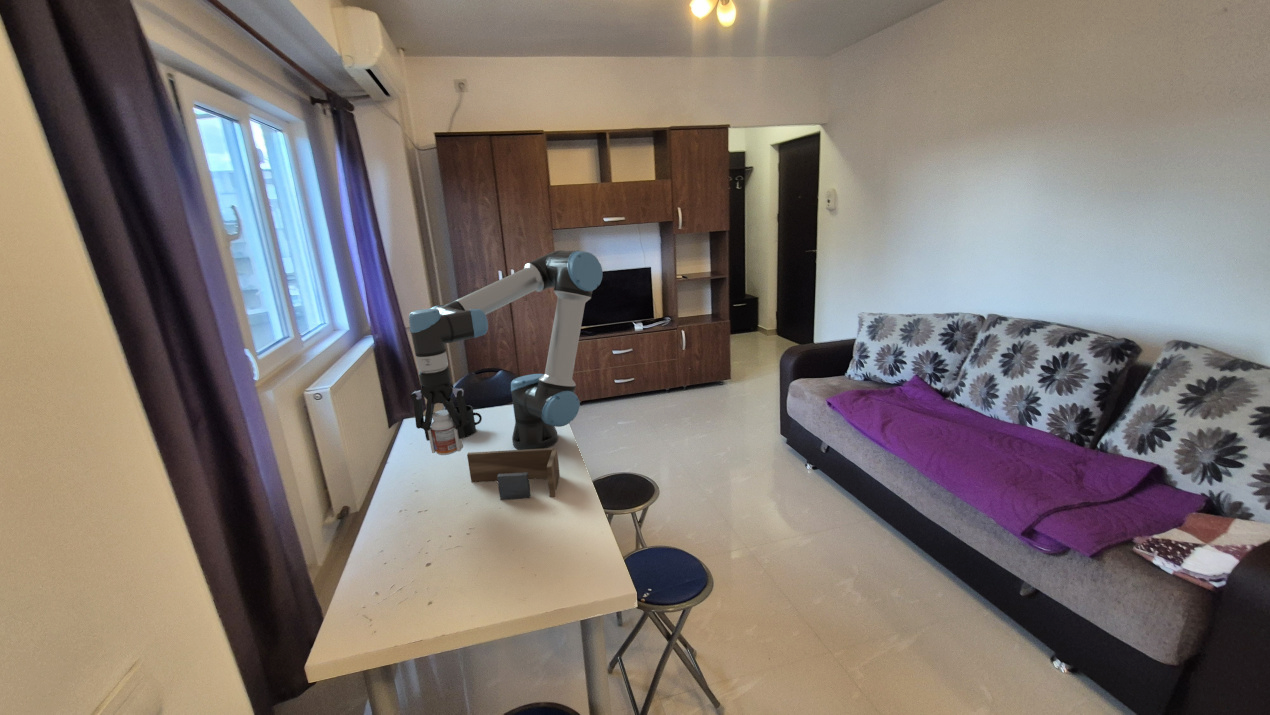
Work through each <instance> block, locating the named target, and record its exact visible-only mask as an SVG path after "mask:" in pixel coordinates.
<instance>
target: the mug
mask: <svg viewBox="0 0 1270 715" xmlns="http://www.w3.org/2000/svg"><path fill="white" fill-rule="evenodd" d="M454 406H455V405H454ZM455 408H456V410H457V411H458V413H459V415H460V412H459V408H458V405H456V406H455ZM466 408H467V412H468V416H469V420H470V421H469V422H468V424H467V425H466V426H463V428H464V434H465V435H464V437H463V439H464V438H467V437H470V436H473V435H474V434H476V431H477V428H476V426H477V425H479V424H481V423H482V420H483V418H482V417H483V416H482V415H481V414H480V412H479V413H478V412H474V408H473V406H472V405H470V404H469V405H467V404H466ZM475 416H477V417H478V419H479V420H478V421H476V420H475ZM460 417H461V416H460Z"/></svg>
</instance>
